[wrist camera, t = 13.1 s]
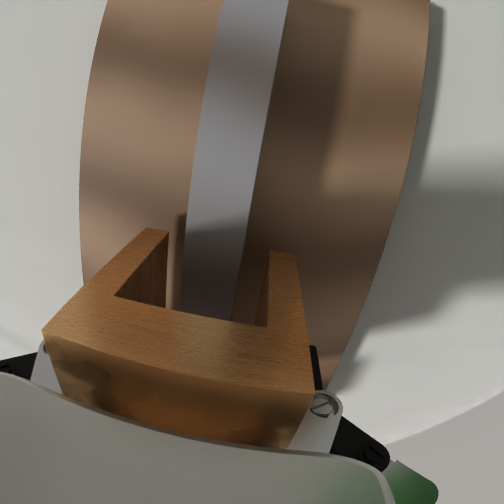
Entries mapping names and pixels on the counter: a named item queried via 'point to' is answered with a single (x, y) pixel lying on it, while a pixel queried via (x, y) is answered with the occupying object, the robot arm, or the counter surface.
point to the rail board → (302, 151)
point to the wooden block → (185, 352)
